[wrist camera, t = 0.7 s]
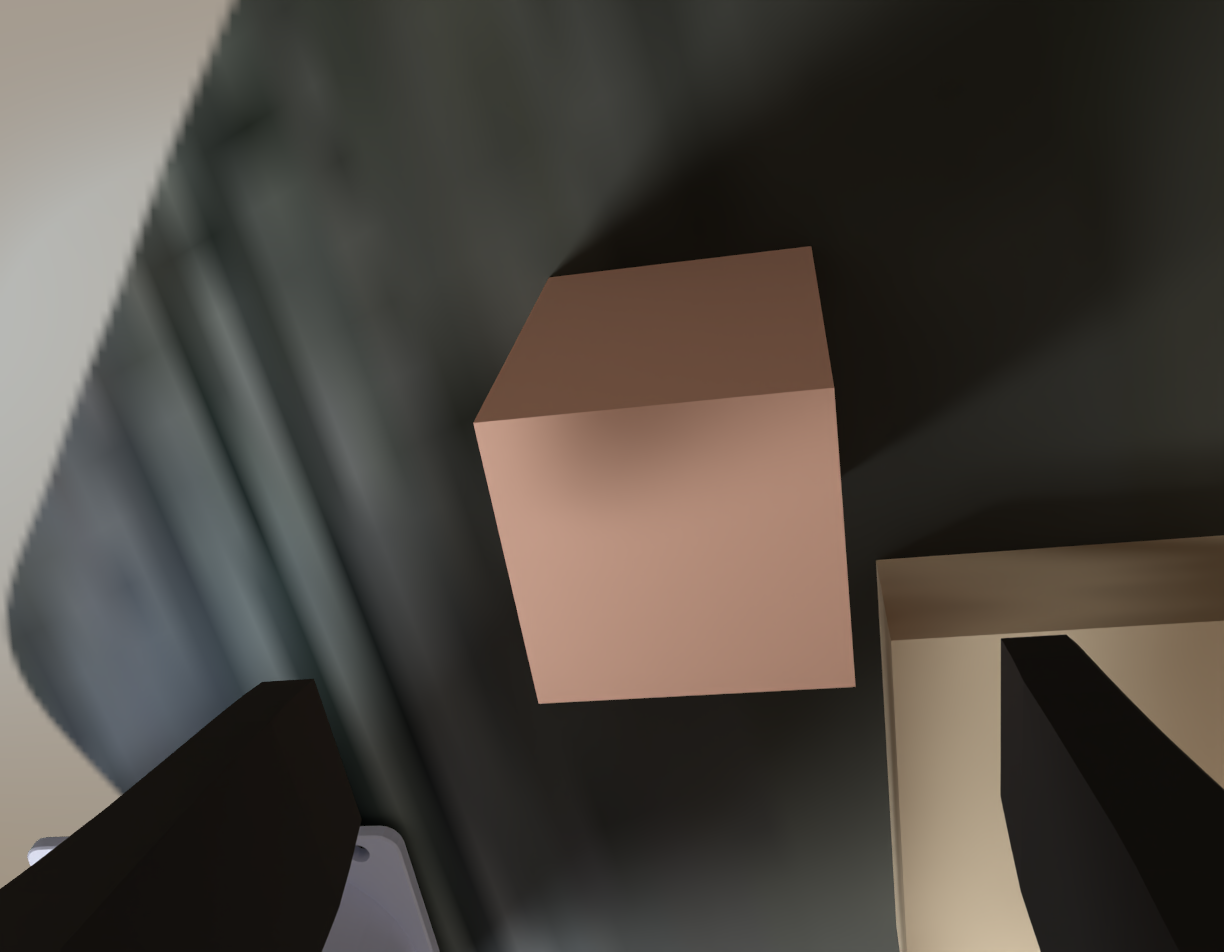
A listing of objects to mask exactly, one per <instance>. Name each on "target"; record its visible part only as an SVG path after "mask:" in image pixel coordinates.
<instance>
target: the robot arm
mask: <svg viewBox="0 0 1224 952" xmlns="http://www.w3.org/2000/svg"><path fill="white" fill-rule="evenodd" d="M1000 796H1001V801H1002V806H1003V811H1004V816H1005V821H1006V826H1007V830H1008V835H1009V840H1010V845H1011V850H1012V854H1013V859H1014V863H1015V868H1016V872H1017V877H1018V881H1019V886H1020V891H1021V894H1022V897H1023V900H1024V903H1025V906H1026V909H1027V912H1028V915H1029V918H1030V921H1031V924H1032V927H1033V930H1034V933H1035V936H1036V939H1037V942H1038V945H1039V948H1040V951H1041V952H1224V789H1223V788H1222V787H1221V786H1220V785H1219V784H1218V783H1217V782H1216V781H1215V780H1213V779H1212V778H1211V777H1210V776H1209V775H1208V774H1207V773H1206V772H1205V771H1204V770H1203V769H1202V768H1201V767H1199V766H1198V765H1197V764H1196V763H1195V762H1194V761H1193V760H1192V759H1191V758H1190V757H1189V756H1188V755H1187V754H1185V753H1184V752H1183V751H1182V750H1181V749H1180V748H1179V747H1178V746H1177V745H1176V744H1175V743H1174V742H1173V741H1172V740H1170V739H1169V738H1168V737H1167V736H1166V735H1165V734H1164V733H1163V732H1162V731H1161V730H1160V729H1159V728H1158V727H1157V726H1156V725H1155V724H1154V723H1153V722H1152V721H1151V720H1150V719H1149V718H1148V717H1147V716H1146V715H1145V714H1144V713H1143V712H1142V711H1141V710H1140V709H1139V708H1138V707H1137V706H1136V705H1135V704H1134V703H1133V702H1132V701H1131V700H1130V699H1129V698H1128V697H1127V696H1126V695H1125V694H1124V693H1123V692H1122V691H1121V690H1120V689H1119V687H1118V686H1117V685H1116V684H1115V683H1114V682H1113V681H1112V680H1111V679H1110V678H1109V677H1108V676H1107V675H1106V674H1105V673H1104V672H1103V671H1102V670H1101V669H1100V668H1099V666H1098V665H1097V664H1096V663H1095V662H1094V661H1093V660H1092V659H1091V658H1090V657H1089V656H1088V655H1087V654H1086V653H1085V651H1084V650H1083V649H1082V648H1081V647H1080V646H1079V645H1078V644H1077V643H1076V642H1075V641H1073V640H1072V639H1071V638H1070V637H1069V636H1067V635H1066V634H1065V635H1048V636H1031V637H1014V638H1001V772H1000ZM361 820H362V819H361V816H360V813H359V810H358V807H357V804H356V801H355V798H354V795H353V792H352V789H351V787H350V784H349V781H348V778H347V775H346V772H345V769H344V766H343V763H342V760H341V757H340V754H339V751H338V748H337V745H336V742H335V740H334V737H333V734H332V731H331V728H330V725H329V722H328V719H327V716H326V713H325V710H324V707H323V704H322V701H321V698H320V696H319V693H318V690H317V687H316V684H315V681H314V679H304V680H287V681H270V682H262V683H260V684H259V685H257V686H256V687H255V688H253V689H252V690H250V691H249V692H248V693H246V694H245V695H244V696H242V697H241V698H240V699H238V700H237V701H236V702H234V703H233V704H232V705H231V706H229V707H228V708H227V709H226V710H224V711H223V712H222V713H221V714H220V715H218V716H217V717H216V718H215V719H213V720H212V721H211V722H210V723H209V724H207V725H206V726H205V727H204V728H202V729H201V730H200V731H199V732H198V733H196V734H195V735H194V736H193V737H192V738H190V739H189V740H188V741H187V742H186V743H184V744H183V745H182V746H181V747H180V748H178V749H177V750H176V751H175V752H174V753H172V754H171V755H170V756H169V757H168V758H166V759H165V760H164V761H163V762H162V763H160V764H159V765H158V766H157V767H156V768H154V769H153V770H152V771H151V772H149V773H148V774H147V775H146V776H145V777H143V778H142V779H141V780H140V781H139V782H137V783H136V784H135V785H134V786H133V787H131V788H130V789H129V790H128V791H126V792H125V793H124V794H123V795H122V796H120V797H119V798H118V799H117V800H116V801H114V802H113V803H112V804H111V805H110V806H108V807H107V808H106V809H105V810H103V811H102V812H101V813H99V814H98V815H97V816H96V817H94V818H93V819H92V820H90V821H89V822H88V823H86V824H85V825H84V826H83V827H81V828H80V829H79V830H77V831H76V832H75V833H73V834H72V835H71V836H70V837H46V838H41V839H39V840H38V841H37V842H36V843H35V844H34V845H33V847H32V848H31V849H30V851H29V853H28V860H29V863H30V865H31V867H29V868H28V869H27V870H25V871H24V872H23V873H22V874H20V875H19V876H17V877H16V878H15V879H13V880H12V881H11V882H9V883H8V884H7V885H5V886H4V887H2V888H1V889H0V952H440V951H439V948H438V945H437V941H436V938H435V935H434V932H433V929H432V926H431V923H430V920H429V917H428V914H427V911H426V907H425V904H424V901H423V898H422V895H421V892H420V889H419V886H418V883H417V880H416V876H415V873H414V870H413V867H412V864H411V861H410V858H409V855H408V852H407V849H406V846H405V842H404V840H403V838H402V837H401V835H400V834H399V833H398V832H396V831H395V830H394V829H392V828H389V827H387V826H360V824H361ZM356 845H358V846H362V847H364V848H366V849H363V848H360V847H358V846H356Z"/></svg>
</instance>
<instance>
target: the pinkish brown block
mask: <svg viewBox="0 0 1224 952" xmlns="http://www.w3.org/2000/svg"><path fill="white" fill-rule="evenodd" d="M473 424H474V428H475V432H476V436H477V441H478V445H479V449H480V454H481V458H482V462H483V467H484V471H485V475H486V479H487V484H488V488H489V492H490V497H491V501H492V505H493V510H494V514H495V518H496V522H497V527H498V531H499V535H500V540H501V544H502V548H503V553H504V557H505V561H506V565H507V570H508V574H509V578H510V583H511V587H512V591H513V596H514V600H515V604H516V608H517V613H518V617H519V621H520V626H521V630H522V634H523V639H524V643H525V647H526V651H527V656H528V660H529V664H530V669H531V673H532V677H533V682H534V686H535V690H536V694H537V699H538V703H539V704H543V703H562V702H580V701H599V700H618V699H637V698H656V697H674V696H693V695H712V694H731V693H750V692H769V691H787V690H806V689H825V688H844V687H856V685H855V671H854V657H853V643H852V629H851V615H850V601H849V587H848V573H847V559H846V545H845V531H844V517H843V503H842V489H841V475H840V461H839V447H838V433H837V419H836V405H835V391H834V383H833V377H832V371H831V365H830V358H829V352H828V346H827V340H826V334H825V327H824V321H823V315H822V309H821V303H820V297H819V290H818V284H817V278H816V272H815V266H814V260H813V253H812V247H811V246H808V247H799V248H791V249H783V250H774V251H766V252H757V253H749V254H741V255H732V256H724V257H716V258H707V259H699V260H691V261H682V262H674V263H666V264H657V265H649V266H641V267H632V268H624V269H615V270H607V271H599V272H590V273H582V274H574V275H565V276H557V277H549V278H548V280H547V282H546V284H545V286H544V288H543V290H542V292H541V294H540V296H539V298H538V300H537V301H536V303H535V305H534V307H533V309H532V311H531V313H530V315H529V317H528V319H527V321H526V323H525V325H524V326H523V328H522V330H521V332H520V334H519V336H518V338H517V340H516V342H515V344H514V346H513V348H512V350H511V352H510V353H509V355H508V357H507V359H506V361H505V363H504V365H503V367H502V369H501V371H500V373H499V375H498V377H497V378H496V380H495V382H494V384H493V386H492V388H491V390H490V392H489V394H488V396H487V398H486V400H485V402H484V403H483V405H482V407H481V409H480V411H479V413H478V415H477V417H476V419H475V421H474V423H473Z"/></svg>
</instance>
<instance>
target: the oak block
mask: <svg viewBox="0 0 1224 952" xmlns="http://www.w3.org/2000/svg"><path fill="white" fill-rule="evenodd" d="M876 571H877V588H878V606H879V624H880V642H881V659H882V677H883V695H884V713H885V730H886V748H887V766H888V784H889V801H890V819H891V837H892V855H893V872H894V890H895V908H896V926H897V934H898V941H899V948H900V952H1041V951H1040V948H1039V945H1038V942H1037V939H1036V936H1035V933H1034V930H1033V927H1032V924H1031V921H1030V918H1029V915H1028V912H1027V909H1026V906H1025V903H1024V900H1023V897H1022V894H1021V891H1020V886H1019V881H1018V877H1017V872H1016V868H1015V863H1014V859H1013V854H1012V850H1011V845H1010V840H1009V835H1008V830H1007V826H1006V821H1005V816H1004V811H1003V806H1002V801H1001V796H1000V772H1001V638H1014V637H1031V636H1048V635H1065V634H1066V635H1067V636H1069V637H1070V638H1071V639H1072V640H1073V641H1075V642H1076V643H1077V644H1078V645H1079V646H1080V647H1081V648H1082V649H1083V650H1084V651H1085V653H1086V654H1087V655H1088V656H1089V657H1090V658H1091V659H1092V660H1093V661H1094V662H1095V663H1096V664H1097V665H1098V666H1099V668H1100V669H1101V670H1102V671H1103V672H1104V673H1105V674H1106V675H1107V676H1108V677H1109V678H1110V679H1111V680H1112V681H1113V682H1114V683H1115V684H1116V685H1117V686H1118V687H1119V689H1120V690H1121V691H1122V692H1123V693H1124V694H1125V695H1126V696H1127V697H1128V698H1129V699H1130V700H1131V701H1132V702H1133V703H1134V704H1135V705H1136V706H1137V707H1138V708H1139V709H1140V710H1141V711H1142V712H1143V713H1144V714H1145V715H1146V716H1147V717H1148V718H1149V719H1150V720H1151V721H1152V722H1153V723H1154V724H1155V725H1156V726H1157V727H1158V728H1159V729H1160V730H1161V731H1162V732H1163V733H1164V734H1165V735H1166V736H1167V737H1168V738H1169V739H1170V740H1172V741H1173V742H1174V743H1175V744H1176V745H1177V746H1178V747H1179V748H1180V749H1181V750H1182V751H1183V752H1184V753H1185V754H1187V755H1188V756H1189V757H1190V758H1191V759H1192V760H1193V761H1194V762H1195V763H1196V764H1197V765H1198V766H1199V767H1201V768H1202V769H1203V770H1204V771H1205V772H1206V773H1207V774H1208V775H1209V776H1210V777H1211V778H1212V779H1213V780H1215V781H1216V782H1217V783H1218V784H1219V785H1220V786H1221V787H1222V788H1223V789H1224V535H1222V536H1208V537H1193V538H1179V539H1165V540H1151V541H1137V542H1123V543H1109V544H1095V545H1081V546H1067V547H1053V548H1039V549H1025V550H1011V551H997V552H983V553H969V554H955V555H941V556H927V557H912V558H898V559H884V560H876Z"/></svg>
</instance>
